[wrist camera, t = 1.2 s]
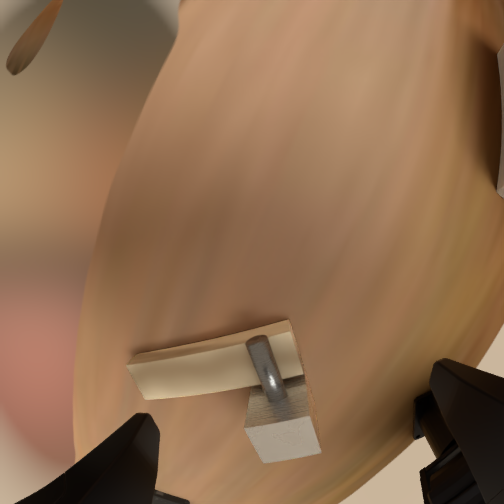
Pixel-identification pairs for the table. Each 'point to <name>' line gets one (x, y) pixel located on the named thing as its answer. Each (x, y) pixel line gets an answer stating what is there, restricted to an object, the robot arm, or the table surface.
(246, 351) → the pine board
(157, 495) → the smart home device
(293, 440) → the marking gauge
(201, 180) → the table surface
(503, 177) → the white rounded piece
